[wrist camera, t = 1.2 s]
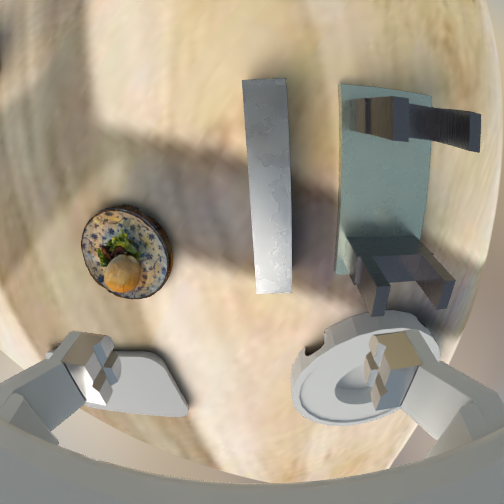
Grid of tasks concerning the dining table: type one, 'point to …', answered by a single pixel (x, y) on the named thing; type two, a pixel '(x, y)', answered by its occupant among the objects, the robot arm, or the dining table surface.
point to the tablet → (143, 387)
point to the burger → (127, 252)
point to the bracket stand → (391, 189)
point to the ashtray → (346, 370)
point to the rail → (269, 182)
